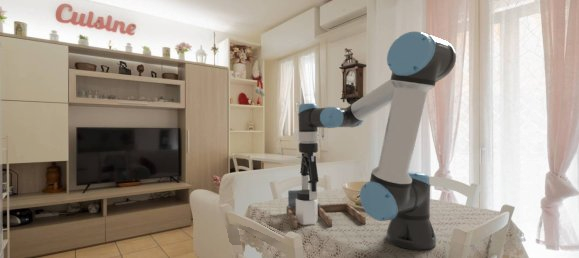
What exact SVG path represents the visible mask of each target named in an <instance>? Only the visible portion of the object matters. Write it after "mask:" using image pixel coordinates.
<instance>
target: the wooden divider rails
mask: <svg viewBox="0 0 579 258" xmlns="http://www.w3.org/2000/svg"><path fill="white" fill-rule="evenodd" d="M299 190H300V189H295V190H292V189H291V190H290V189H288V193H287V194H288V197H287V199H288V205H286V216H287V217H288V220H289V221H290V223H291V225H292V226H293V229H294V230H298V223H297V220H296V216H295V215H296V198H297V191H299ZM344 211H345V212H347V213H348V214H349V215H350V216H352V217H353V218H355V219H356V220H357V221H358V222H360V224H362V225H366V224H367V223H366V215H364V214H363V213H361V212H360V211H358V210H357V209H356V208H355V207H353V206H352V205H350V204H349V203H348V202H347V203H333V204H332V203H331V204H320V203H318V216H320V218H321V219H322V220H323V221H324V222H325V223H326V225H327V226H328V227H329V228H332V227H333V218H332V217H331V216H330V215H329V214H328V212H329V213H331V212H344Z"/></svg>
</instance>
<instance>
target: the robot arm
mask: <svg viewBox="0 0 579 258" xmlns="http://www.w3.org/2000/svg"><path fill="white" fill-rule="evenodd" d="M386 55H387V57H386V63H387V66H388V68H389V70H390V71H391V76H390V78H389V79H388V80H387V81H385V82H384V83H382V84H381V85H379V86H377V87H376V88H375V89H373V90H371V91H370V92H369V93H366V94H365V95H363V96H362V97H361V98H359V99H357V101H355V102H353V103H352V104H350V105H348V106H347V107H338V106H336V107H335V106H326V107H318V105H317V103H312V102H311V103H301V104H299V106H298V113H297V116H298V142H299V143H298V151H299V153H301V161H300V162H301V163H300V172H299V174H300V175H301V190H309V200H317V198H318V193H317V192H318V186H317V185H318V183H319V182H320V181H319V175H318V168H317V166H318V165H317V160H316V159H317V156H316V155H314V154H315V153H317V152H318V149H319V145H318V140H319V139H318V137H319V133H318V131H319V130H318V129H320V128H322V129H323V128H325V129H326V128H327V129H335V128H356V127H359V126H361V125H362V124H363V122H364V120H365V119H368V118H370V117H371V116H373V115H375V114H376V113H378V112H380V111H381V110H383V109H385V108H386V107H388V106H390V109H389V113H388V118H387V123H386V127H385V132H384V136H383V142H382V146H381V152H380V157H379V161H378V165H377V166H376V167H375V168H373V169H372V170H371V174H370V178H369V181H367V182H366V183H365V184H363V185H362V187H361V188H360V191H359V201H360V204H361V206H362V207H363V210H364V211H365V213H366V214H367V215H368V216H369V217H370V218H372V219H373V220H376V221H379V222H385V221H386V222H387V221H389V223H388V226H387V230H386V240H387V241H388V242H390V243H391V244H393V245H394V246H398V247H399V248H403V249H408V250H417V251H418V250H419V251H422V250H423V251H425V250H430V249H433V248H435V247H436V245H437V244H436V241H437V237H436V233H435V231H434V227H433V225H432V223H431V206H430V205H431V184H430V183H431V181H430V176H429V175H428V174H427V173H422V172H415V171H410V167H411V162H412V158H413V153H414V150H415V146H416V145H415V144H416V141H417V137H418V133H419V128H420V124H421V120H422V116H423V111H424V108H425V107H424V106H425V102H426V98H427V94H428V92H429V91H430V90H432V89H434V88H435V86H436V83H437V82H440V80H441V81H442V79H444V78H445V77H447V76H448V75H449V74H450V73H451V71H453V69H454V67H455V65H456V61H457V54H456V50H455V49H454V47H453V45H452V44H451V43H449V42H448V41H446V39H445V40H444V39H441V38H439V37H436V36H434V35H430V34H429V33H427V32H421V31H408V32H405V33H404V34H401V35H400V36H399V37H398V38H397V39H395V40H394V41H393V42H392V43H391V46H390V47H389V49H388V51H387V54H386Z"/></svg>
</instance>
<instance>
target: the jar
mask: <svg viewBox="0 0 579 258" xmlns="http://www.w3.org/2000/svg"><path fill="white" fill-rule="evenodd" d="M298 190H299V191H297V198H296V214H295V218H296V220H297V224H300V225H303V226H306V225H307V226H310V225H315V224H316V223H317V222H318V219H319V218H318V217H319V214H318V204H319V203H318V197H317V200H309V189H308V190H302V189H298Z"/></svg>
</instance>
